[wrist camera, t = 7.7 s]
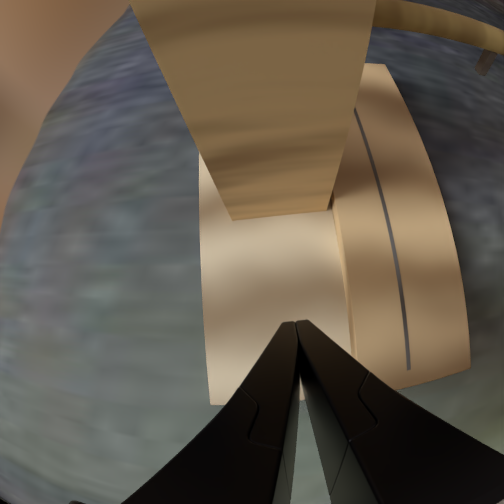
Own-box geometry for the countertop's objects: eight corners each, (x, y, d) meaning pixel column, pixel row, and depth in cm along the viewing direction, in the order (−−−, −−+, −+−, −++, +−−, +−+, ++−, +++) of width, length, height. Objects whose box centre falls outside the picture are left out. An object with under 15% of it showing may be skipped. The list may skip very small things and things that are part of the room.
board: (451, 365, 16) (471, 368, 13) (214, 401, 17) (203, 410, 15) (379, 83, 22) (384, 64, 20) (203, 96, 24) (196, 77, 21)
